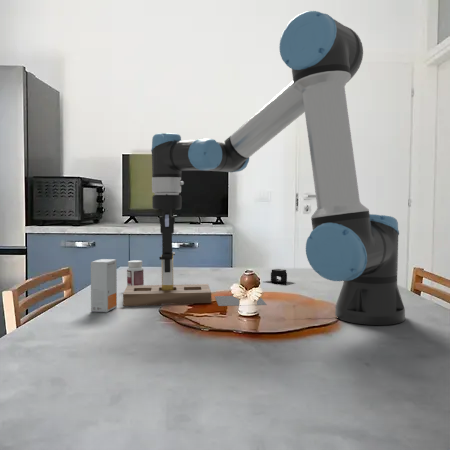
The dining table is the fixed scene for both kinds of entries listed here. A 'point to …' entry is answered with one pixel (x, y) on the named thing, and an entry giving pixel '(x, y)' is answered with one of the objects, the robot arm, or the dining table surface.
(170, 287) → the peg
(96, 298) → the skincare box
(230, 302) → the mat
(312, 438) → the dining table surface
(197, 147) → the robot arm
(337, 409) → the dining table surface
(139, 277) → the pill bottle
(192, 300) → the block
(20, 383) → the dining table surface
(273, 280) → the black box
